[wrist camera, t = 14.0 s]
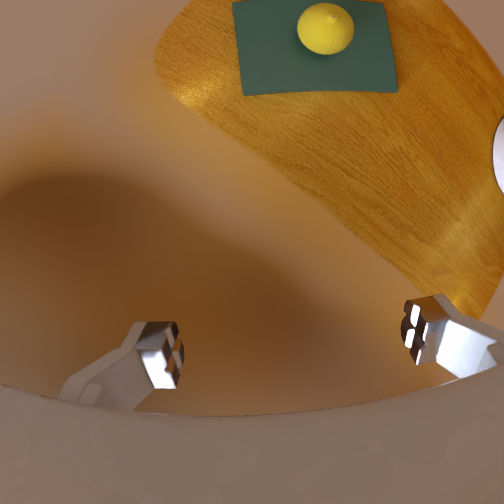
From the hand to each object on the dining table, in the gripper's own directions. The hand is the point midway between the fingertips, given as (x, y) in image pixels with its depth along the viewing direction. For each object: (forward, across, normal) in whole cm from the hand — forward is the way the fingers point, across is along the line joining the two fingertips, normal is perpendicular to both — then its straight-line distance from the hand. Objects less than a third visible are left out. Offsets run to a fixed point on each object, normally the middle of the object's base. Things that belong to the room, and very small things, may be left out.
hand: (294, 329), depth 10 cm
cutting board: (+27, +7, +17) cm, 33 cm away
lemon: (+26, +7, +17) cm, 32 cm away
